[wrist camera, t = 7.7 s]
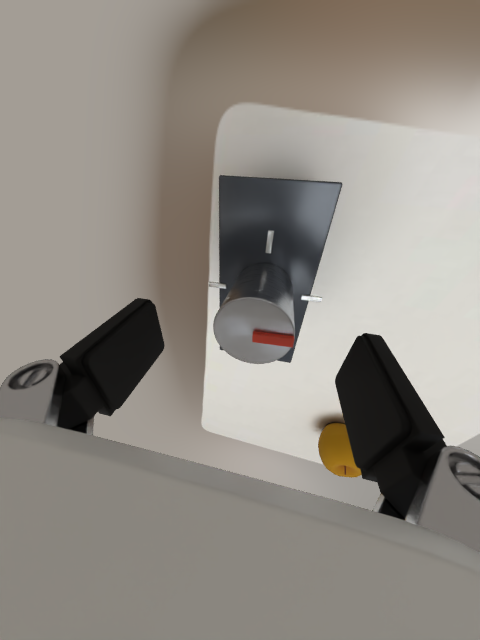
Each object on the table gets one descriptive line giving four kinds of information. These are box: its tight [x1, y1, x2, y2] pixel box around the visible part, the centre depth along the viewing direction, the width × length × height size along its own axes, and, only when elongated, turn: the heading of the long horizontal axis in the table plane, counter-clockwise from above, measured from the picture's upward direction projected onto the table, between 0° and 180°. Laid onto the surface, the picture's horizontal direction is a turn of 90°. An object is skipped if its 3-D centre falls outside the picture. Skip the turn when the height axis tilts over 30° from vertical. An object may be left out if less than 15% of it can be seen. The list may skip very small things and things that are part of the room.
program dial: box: [213, 263, 295, 364], centre depth 12 cm, size 4×4×6 cm
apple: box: [318, 423, 361, 477], centre depth 38 cm, size 8×8×9 cm
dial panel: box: [209, 175, 342, 363], centre depth 20 cm, size 14×9×12 cm, turn 177°
